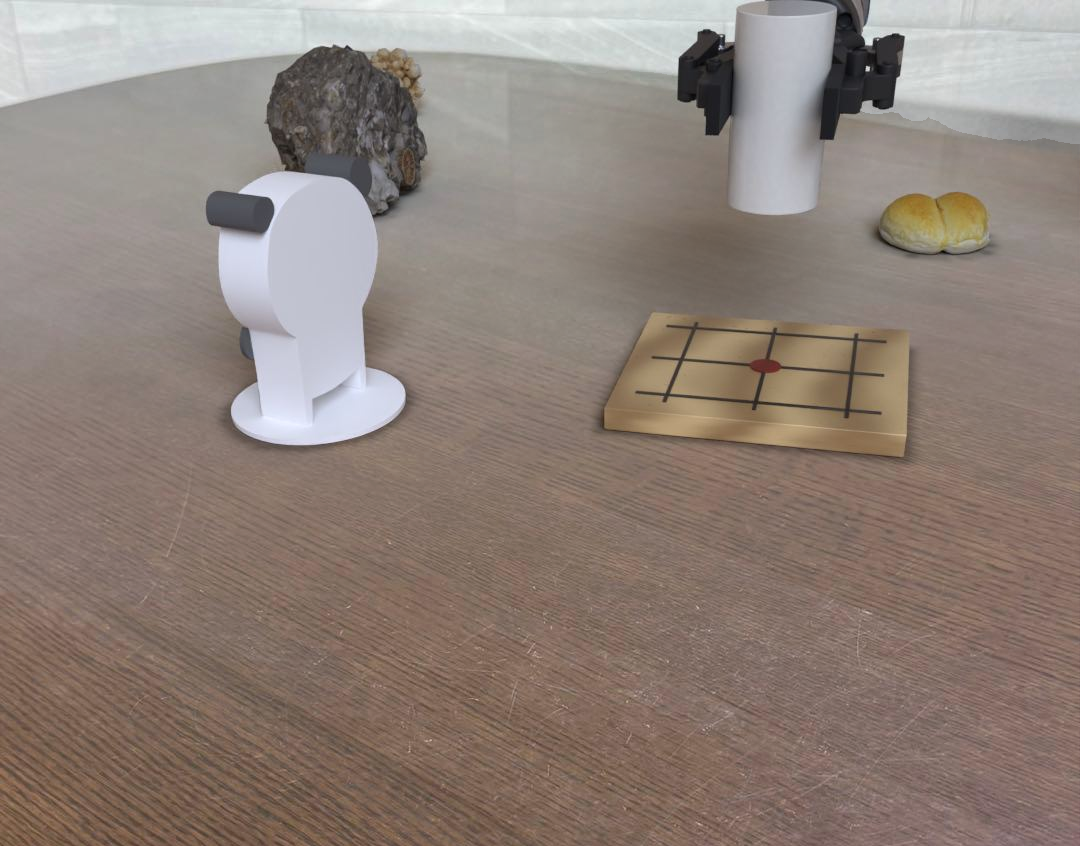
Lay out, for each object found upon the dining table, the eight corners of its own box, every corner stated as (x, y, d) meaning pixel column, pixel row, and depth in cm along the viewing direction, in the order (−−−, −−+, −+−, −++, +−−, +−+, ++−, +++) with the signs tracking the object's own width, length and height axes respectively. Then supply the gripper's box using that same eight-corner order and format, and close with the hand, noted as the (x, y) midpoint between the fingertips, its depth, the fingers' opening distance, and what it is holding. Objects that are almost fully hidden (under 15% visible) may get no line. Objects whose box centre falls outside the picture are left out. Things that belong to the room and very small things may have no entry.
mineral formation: (436, 108, 150) (384, 129, 137) (342, 122, 154) (284, 143, 142) (422, 39, 146) (368, 54, 134) (327, 55, 151) (266, 72, 139)
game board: (907, 350, 84) (910, 328, 83) (903, 457, 71) (907, 433, 70) (651, 331, 88) (651, 310, 87) (603, 429, 75) (603, 406, 74)
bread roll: (875, 225, 107) (880, 179, 104) (981, 227, 105) (988, 181, 103) (880, 256, 100) (886, 208, 98) (993, 259, 98) (1002, 211, 96)
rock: (400, 23, 103) (260, -17, 108) (328, 175, 102) (190, 127, 107) (469, 130, 120) (346, 91, 125) (409, 260, 119) (287, 216, 124)
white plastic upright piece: (308, 355, 86) (277, 141, 78) (443, 382, 81) (425, 157, 73) (195, 424, 77) (146, 191, 69) (339, 459, 73) (305, 213, 65)
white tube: (822, 190, 75) (840, 0, 69) (814, 217, 71) (833, 17, 65) (732, 186, 77) (743, -1, 71) (719, 213, 72) (729, 15, 66)
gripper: (935, 94, 84) (937, 189, 66) (673, 86, 89) (604, 173, 70) (952, -23, 80) (958, 43, 62) (677, -25, 85) (604, 36, 66)
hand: (770, 112), depth 66 cm, fingers closed on white tube, 6 cm apart
